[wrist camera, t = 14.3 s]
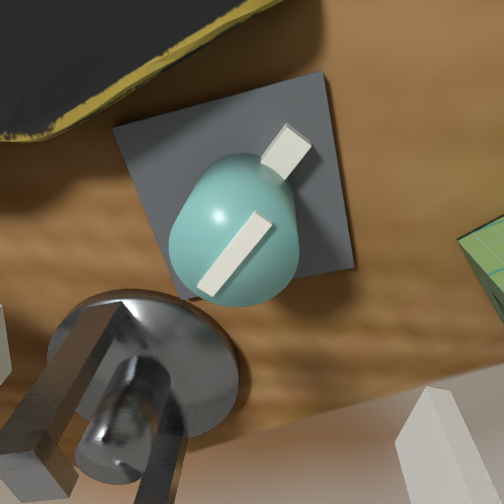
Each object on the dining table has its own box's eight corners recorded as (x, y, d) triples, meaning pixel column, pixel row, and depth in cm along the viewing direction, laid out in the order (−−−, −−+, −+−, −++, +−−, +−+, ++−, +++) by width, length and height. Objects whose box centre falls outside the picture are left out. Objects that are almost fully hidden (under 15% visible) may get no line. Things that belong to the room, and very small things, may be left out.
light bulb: (253, 97, 23) (244, 120, 17) (340, 164, 25) (362, 209, 18) (158, 237, 28) (121, 298, 22) (235, 286, 30) (224, 357, 23)
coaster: (115, 125, 25) (111, 128, 25) (321, 70, 23) (322, 71, 22) (183, 293, 31) (180, 299, 30) (352, 261, 29) (354, 267, 28)
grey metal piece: (21, 308, 33) (-131, 468, 21) (207, 271, 30) (160, 430, 18) (102, 437, 40) (25, 613, 28) (259, 417, 37) (250, 601, 25)
